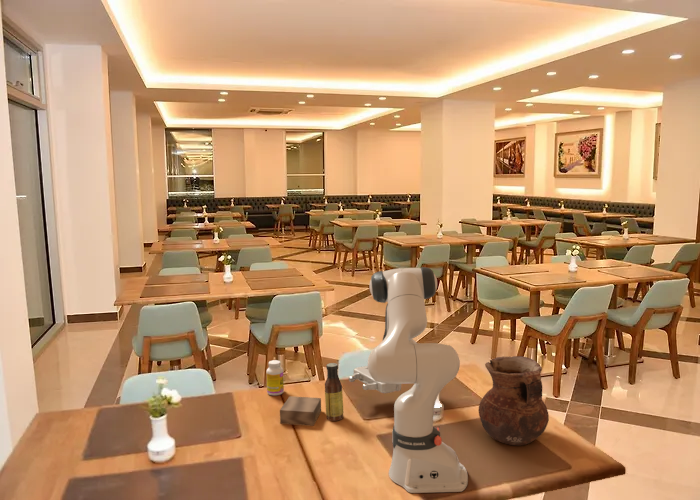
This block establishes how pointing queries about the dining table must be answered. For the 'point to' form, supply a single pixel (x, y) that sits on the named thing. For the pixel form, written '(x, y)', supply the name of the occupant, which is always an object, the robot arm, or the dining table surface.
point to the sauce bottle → (333, 393)
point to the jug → (514, 401)
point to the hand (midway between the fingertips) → (356, 383)
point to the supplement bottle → (275, 378)
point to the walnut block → (300, 411)
